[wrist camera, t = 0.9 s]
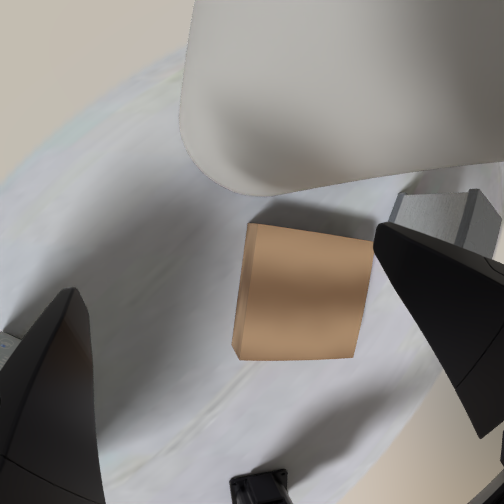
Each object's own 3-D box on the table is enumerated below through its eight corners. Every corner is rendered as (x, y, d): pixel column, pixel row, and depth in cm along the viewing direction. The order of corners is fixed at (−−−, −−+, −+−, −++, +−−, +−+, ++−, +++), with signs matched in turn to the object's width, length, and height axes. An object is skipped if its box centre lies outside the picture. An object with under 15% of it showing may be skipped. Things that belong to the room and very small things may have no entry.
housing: (409, 260, 29) (486, 276, 19) (380, 240, 27) (462, 251, 18) (425, 216, 29) (501, 218, 19) (398, 193, 28) (478, 188, 18)
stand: (336, 345, 27) (353, 357, 24) (231, 344, 25) (239, 360, 22) (355, 239, 27) (375, 242, 24) (247, 223, 24) (258, 223, 21)
